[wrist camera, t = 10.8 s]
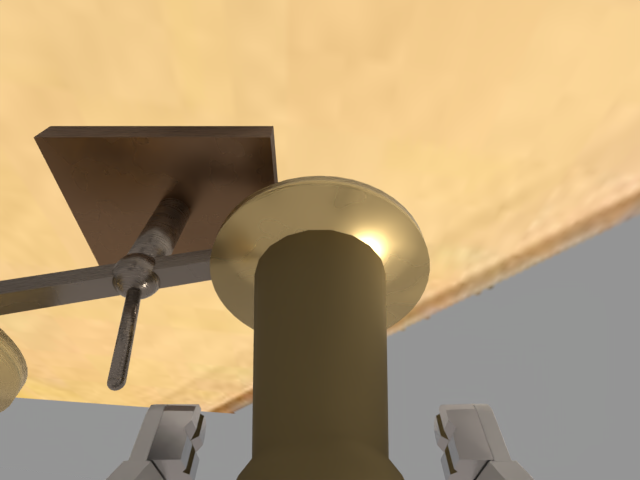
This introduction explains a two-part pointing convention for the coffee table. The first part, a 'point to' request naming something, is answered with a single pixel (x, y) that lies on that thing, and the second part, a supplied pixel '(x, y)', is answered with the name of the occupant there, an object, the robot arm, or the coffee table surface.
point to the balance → (195, 224)
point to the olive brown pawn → (320, 362)
